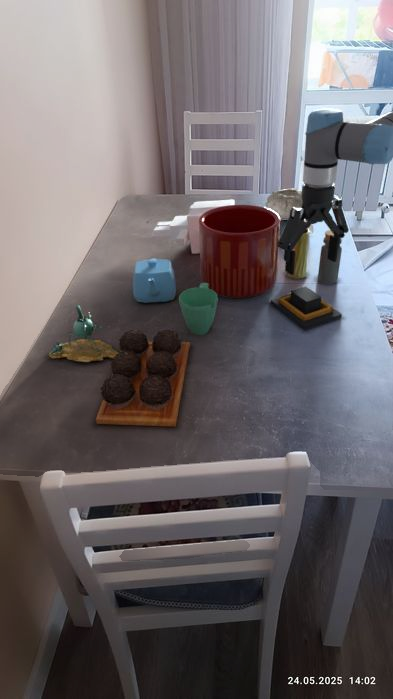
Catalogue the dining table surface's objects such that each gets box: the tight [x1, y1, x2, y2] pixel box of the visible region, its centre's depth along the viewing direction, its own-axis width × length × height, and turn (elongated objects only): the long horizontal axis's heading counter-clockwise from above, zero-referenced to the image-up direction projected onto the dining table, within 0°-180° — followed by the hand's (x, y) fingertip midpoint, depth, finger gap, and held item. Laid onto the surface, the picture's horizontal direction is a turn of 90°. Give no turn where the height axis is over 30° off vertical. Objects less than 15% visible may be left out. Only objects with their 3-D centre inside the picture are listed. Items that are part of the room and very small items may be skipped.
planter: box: [199, 204, 281, 299], centre depth 142 cm, size 23×23×20 cm
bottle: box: [317, 229, 343, 285], centre depth 142 cm, size 6×6×15 cm
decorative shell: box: [264, 187, 303, 221], centre depth 186 cm, size 18×18×10 cm
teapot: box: [132, 257, 177, 304], centre depth 138 cm, size 12×18×12 cm
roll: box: [301, 214, 315, 236], centre depth 174 cm, size 6×12×6 cm, turn 178°
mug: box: [178, 282, 219, 336], centre depth 126 cm, size 15×10×10 cm
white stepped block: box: [153, 199, 235, 254], centre depth 167 cm, size 15×25×28 cm
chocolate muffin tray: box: [95, 328, 191, 428], centre depth 108 cm, size 28×17×8 cm, turn 175°
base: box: [269, 293, 343, 331], centre depth 132 cm, size 16×12×2 cm
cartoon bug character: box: [48, 305, 120, 363], centre depth 117 cm, size 10×18×15 cm, turn 80°
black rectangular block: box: [290, 286, 323, 315], centre depth 131 cm, size 7×5×4 cm
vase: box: [286, 229, 310, 280], centre depth 146 cm, size 6×6×14 cm
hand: (311, 266), depth 125 cm, fingers open, 13 cm apart
